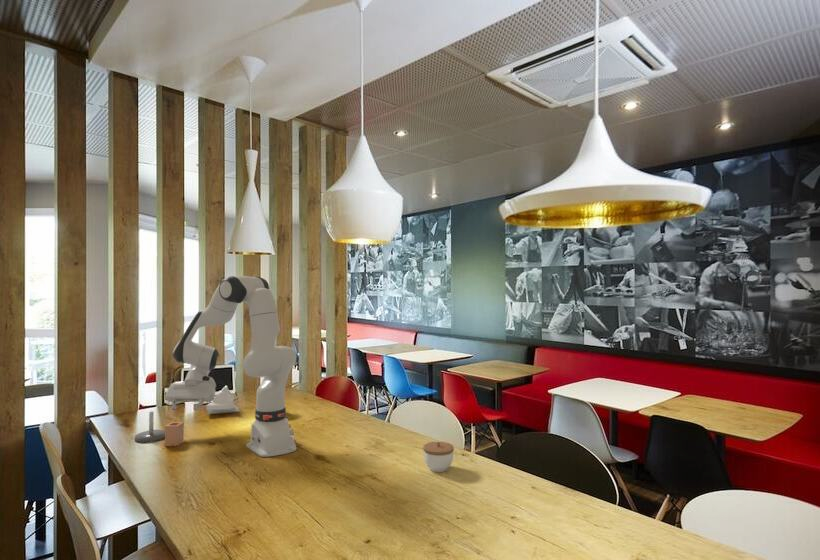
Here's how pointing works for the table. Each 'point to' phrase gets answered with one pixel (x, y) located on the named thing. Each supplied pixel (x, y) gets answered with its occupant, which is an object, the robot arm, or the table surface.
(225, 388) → the white irregular peaked block
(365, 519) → the table surface
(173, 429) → the collar
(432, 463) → the lidded jar
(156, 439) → the stand
